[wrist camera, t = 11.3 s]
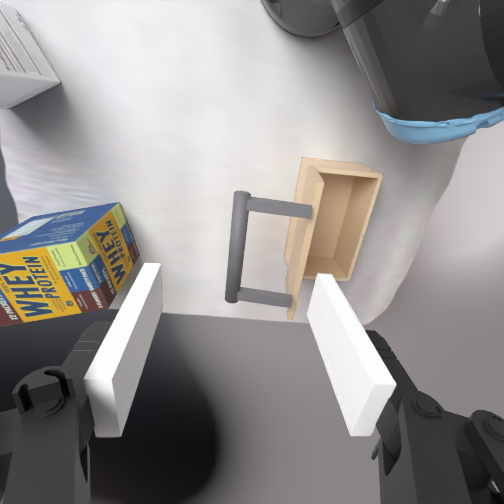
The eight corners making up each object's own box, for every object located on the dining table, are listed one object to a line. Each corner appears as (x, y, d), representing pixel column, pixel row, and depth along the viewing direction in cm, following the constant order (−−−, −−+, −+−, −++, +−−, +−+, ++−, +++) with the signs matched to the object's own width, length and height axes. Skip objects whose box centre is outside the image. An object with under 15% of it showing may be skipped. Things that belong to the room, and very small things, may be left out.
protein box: (141, 255, 52) (110, 309, 39) (58, 269, 53) (-2, 328, 39) (120, 200, 48) (76, 240, 34) (29, 215, 48) (-52, 262, 34)
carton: (301, 157, 46) (314, 167, 39) (360, 163, 47) (383, 174, 40) (283, 255, 54) (291, 278, 47) (334, 258, 56) (349, 281, 48)
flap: (314, 165, 39) (246, 156, 39) (326, 185, 29) (234, 173, 29) (290, 279, 47) (235, 271, 48) (293, 326, 37) (222, 315, 37)
